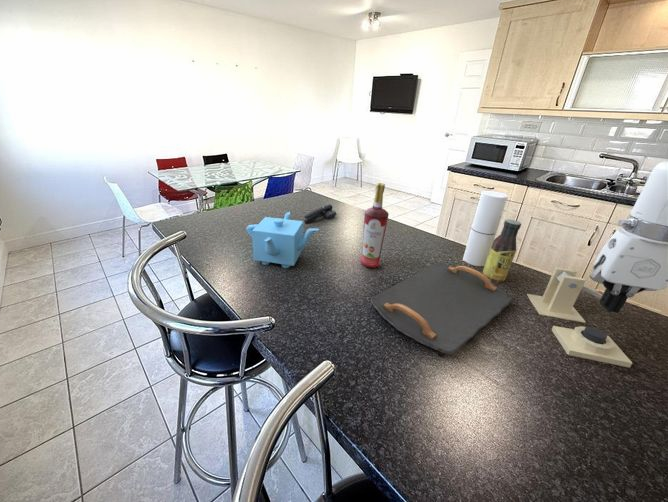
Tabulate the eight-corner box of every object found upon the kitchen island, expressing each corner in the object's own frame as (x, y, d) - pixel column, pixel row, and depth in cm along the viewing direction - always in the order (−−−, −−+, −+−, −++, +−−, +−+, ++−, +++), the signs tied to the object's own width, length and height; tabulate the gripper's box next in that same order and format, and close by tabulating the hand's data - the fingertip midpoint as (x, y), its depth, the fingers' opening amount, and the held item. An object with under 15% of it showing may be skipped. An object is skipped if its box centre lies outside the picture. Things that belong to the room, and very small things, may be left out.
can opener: (327, 212, 143) (328, 201, 141) (337, 216, 138) (338, 205, 136) (299, 221, 133) (299, 209, 131) (309, 226, 128) (309, 214, 126)
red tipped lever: (597, 297, 77) (604, 290, 76) (609, 309, 73) (617, 302, 72) (553, 275, 78) (561, 268, 77) (563, 285, 74) (570, 278, 73)
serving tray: (439, 266, 99) (443, 250, 96) (517, 303, 82) (524, 284, 80) (360, 311, 78) (362, 291, 75) (442, 371, 61) (449, 349, 58)
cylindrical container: (457, 259, 104) (476, 191, 94) (473, 256, 106) (493, 189, 96) (474, 269, 98) (495, 198, 88) (490, 266, 100) (513, 196, 90)
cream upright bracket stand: (566, 304, 82) (583, 268, 77) (584, 325, 74) (604, 287, 70) (525, 297, 85) (539, 261, 80) (538, 317, 77) (555, 279, 72)
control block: (604, 343, 69) (612, 330, 68) (627, 370, 62) (637, 356, 60) (550, 332, 72) (556, 319, 70) (566, 357, 65) (573, 344, 63)
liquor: (357, 268, 97) (366, 186, 86) (360, 257, 104) (369, 180, 92) (380, 272, 95) (392, 188, 84) (381, 261, 102) (393, 182, 90)
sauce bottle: (492, 286, 89) (513, 227, 81) (476, 275, 95) (494, 218, 86) (509, 283, 91) (531, 225, 83) (492, 273, 96) (511, 216, 88)
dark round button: (597, 334, 67) (601, 328, 66) (607, 346, 64) (611, 340, 63) (578, 330, 68) (581, 324, 67) (587, 342, 64) (591, 336, 64)
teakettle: (244, 253, 104) (241, 215, 98) (290, 242, 113) (290, 206, 107) (267, 280, 90) (266, 237, 84) (318, 264, 99) (319, 224, 93)
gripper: (617, 231, 53) (575, 311, 61) (725, 244, 50) (667, 328, 57) (593, 216, 60) (558, 290, 67) (687, 227, 56) (639, 304, 64)
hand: (608, 307), depth 62 cm, fingers closed
